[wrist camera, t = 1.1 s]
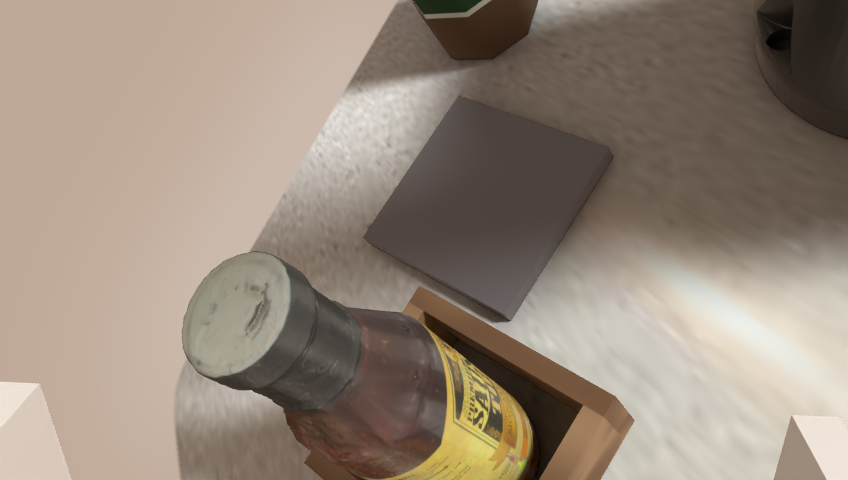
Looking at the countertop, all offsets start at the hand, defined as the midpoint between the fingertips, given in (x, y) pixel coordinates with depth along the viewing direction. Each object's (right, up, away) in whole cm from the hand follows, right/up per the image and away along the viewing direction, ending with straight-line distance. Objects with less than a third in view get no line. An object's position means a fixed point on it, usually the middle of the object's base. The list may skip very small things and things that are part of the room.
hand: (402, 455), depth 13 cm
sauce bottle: (+3, -7, +24) cm, 25 cm away
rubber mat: (+4, +6, +30) cm, 31 cm away
